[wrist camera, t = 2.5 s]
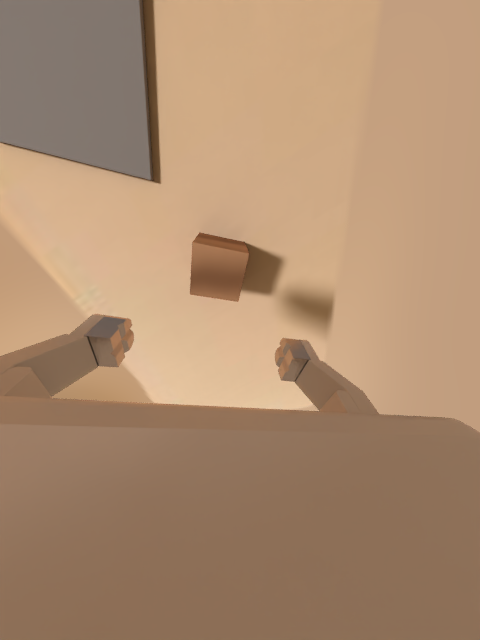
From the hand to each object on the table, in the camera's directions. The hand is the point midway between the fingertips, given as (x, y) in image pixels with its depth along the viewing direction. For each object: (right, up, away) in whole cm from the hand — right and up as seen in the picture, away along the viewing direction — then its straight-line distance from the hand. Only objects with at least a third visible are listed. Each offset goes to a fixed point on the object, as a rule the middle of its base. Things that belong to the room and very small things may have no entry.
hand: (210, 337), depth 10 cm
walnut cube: (-1, +8, +11) cm, 14 cm away
